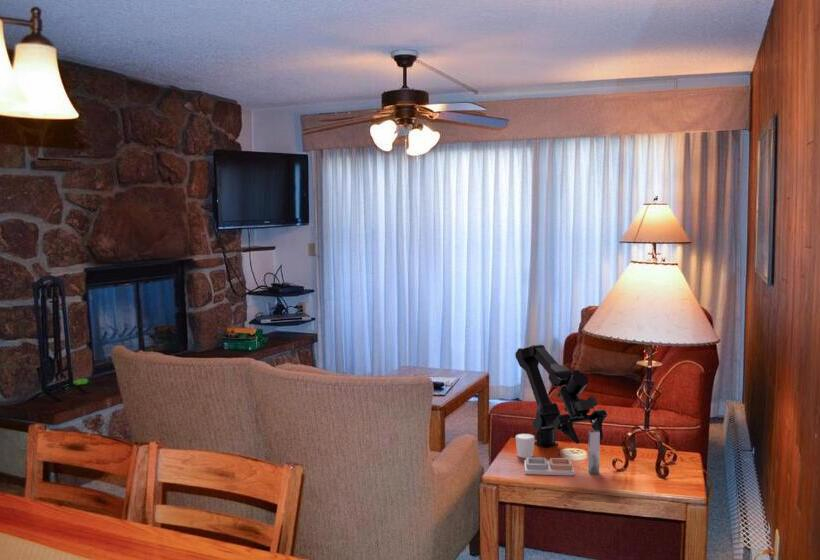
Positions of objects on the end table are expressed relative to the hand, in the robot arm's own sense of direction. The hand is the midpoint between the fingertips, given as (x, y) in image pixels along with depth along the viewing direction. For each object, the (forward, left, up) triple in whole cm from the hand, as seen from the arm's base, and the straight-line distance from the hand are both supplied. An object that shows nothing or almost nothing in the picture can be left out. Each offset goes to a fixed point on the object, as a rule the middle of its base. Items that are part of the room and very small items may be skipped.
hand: (590, 441), depth 246 cm
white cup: (+7, -24, -10) cm, 27 cm away
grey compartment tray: (+10, -9, -10) cm, 17 cm away
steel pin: (0, +2, -10) cm, 10 cm away
